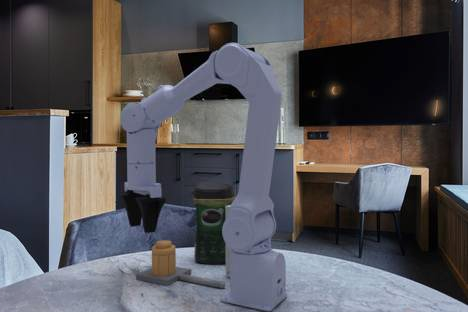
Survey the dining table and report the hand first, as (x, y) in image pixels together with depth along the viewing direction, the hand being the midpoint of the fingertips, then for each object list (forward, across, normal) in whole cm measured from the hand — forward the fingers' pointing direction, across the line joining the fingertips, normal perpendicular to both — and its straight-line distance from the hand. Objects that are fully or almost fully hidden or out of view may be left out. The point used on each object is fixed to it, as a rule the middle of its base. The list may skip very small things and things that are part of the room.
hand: (142, 229), depth 82 cm
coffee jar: (+10, +1, -18) cm, 21 cm away
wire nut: (+9, -3, -4) cm, 10 cm away
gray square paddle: (+10, -8, -6) cm, 14 cm away
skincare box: (+10, -13, -18) cm, 24 cm away
